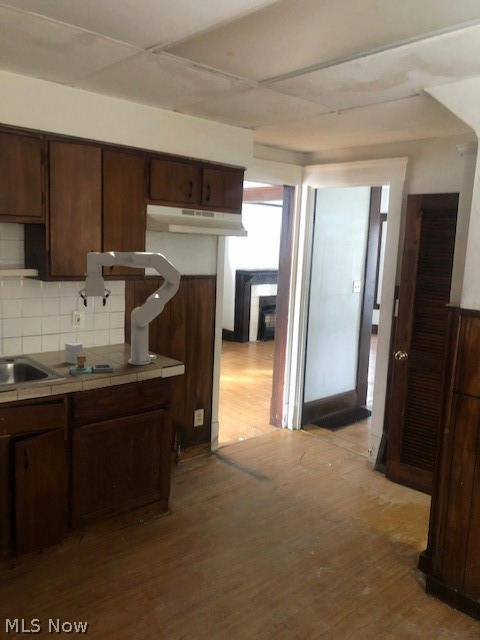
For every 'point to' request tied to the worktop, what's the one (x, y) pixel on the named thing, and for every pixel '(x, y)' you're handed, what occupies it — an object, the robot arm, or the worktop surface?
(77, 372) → the tile
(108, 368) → the socket
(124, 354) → the worktop surface
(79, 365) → the t-key
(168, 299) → the robot arm
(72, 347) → the small box
